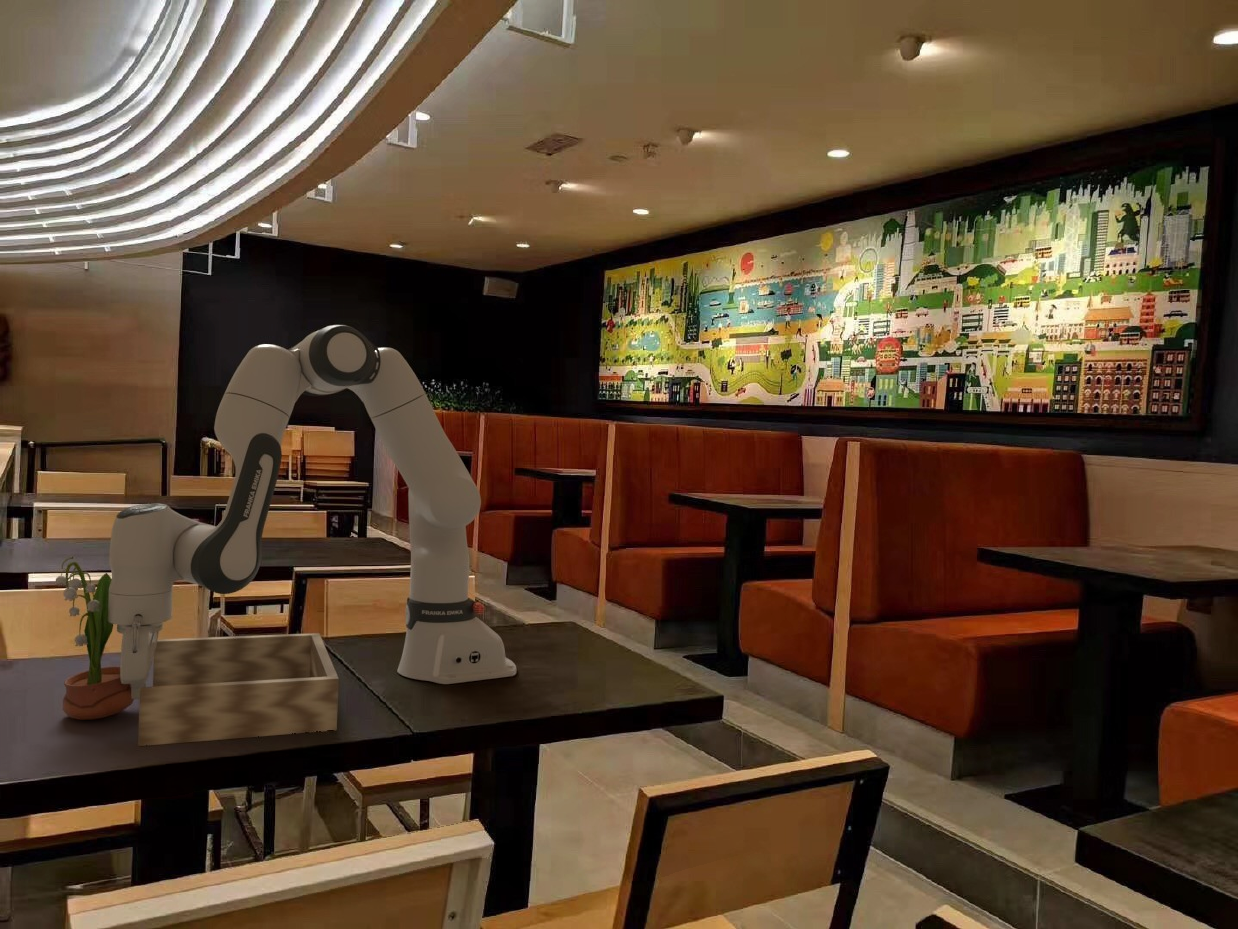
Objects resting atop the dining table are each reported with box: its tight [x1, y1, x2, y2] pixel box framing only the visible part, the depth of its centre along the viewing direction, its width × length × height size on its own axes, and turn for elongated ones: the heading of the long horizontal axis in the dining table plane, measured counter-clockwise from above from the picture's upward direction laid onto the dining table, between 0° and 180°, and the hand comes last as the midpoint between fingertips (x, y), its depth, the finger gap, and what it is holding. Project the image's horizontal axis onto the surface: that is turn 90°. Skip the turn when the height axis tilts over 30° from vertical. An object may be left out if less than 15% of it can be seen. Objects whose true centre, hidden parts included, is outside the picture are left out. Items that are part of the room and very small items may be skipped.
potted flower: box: [54, 556, 135, 721], centre depth 139 cm, size 12×10×25 cm
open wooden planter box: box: [137, 632, 340, 747], centre depth 149 cm, size 27×31×8 cm
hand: (138, 696), depth 143 cm, fingers closed, pressing on potted flower
